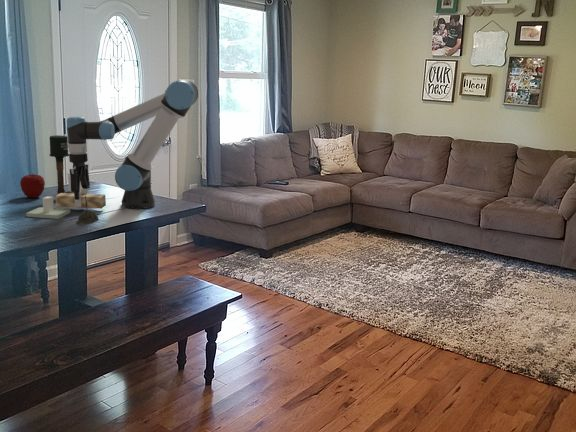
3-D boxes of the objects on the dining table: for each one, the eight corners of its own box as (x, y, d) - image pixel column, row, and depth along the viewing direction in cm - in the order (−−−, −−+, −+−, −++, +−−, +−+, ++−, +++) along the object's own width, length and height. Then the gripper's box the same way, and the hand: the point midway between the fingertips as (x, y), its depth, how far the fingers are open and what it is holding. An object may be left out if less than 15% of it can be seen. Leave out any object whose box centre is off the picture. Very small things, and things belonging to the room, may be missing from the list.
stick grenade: (64, 202, 277) (61, 137, 270) (48, 200, 279) (44, 136, 271) (74, 198, 285) (72, 136, 278) (58, 197, 287) (55, 134, 279)
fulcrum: (70, 212, 259) (69, 195, 257) (58, 218, 248) (57, 201, 246) (39, 210, 260) (38, 193, 258) (26, 216, 249) (25, 199, 248)
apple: (21, 195, 286) (19, 171, 283) (45, 194, 290) (43, 171, 287) (21, 200, 276) (19, 175, 273) (45, 199, 280) (44, 175, 277)
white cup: (64, 191, 298) (63, 172, 296) (75, 189, 305) (75, 170, 303) (77, 193, 295) (76, 174, 293) (88, 191, 302) (87, 171, 300)
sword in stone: (82, 217, 252) (82, 190, 249) (100, 219, 252) (101, 192, 249) (73, 223, 243) (73, 195, 240) (92, 225, 242) (93, 197, 240)
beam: (105, 205, 266) (105, 194, 265) (101, 208, 260) (100, 197, 259) (61, 203, 267) (60, 192, 265) (56, 206, 261) (55, 195, 260)
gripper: (79, 149, 267) (83, 199, 273) (59, 155, 249) (63, 209, 254) (95, 150, 267) (98, 200, 272) (76, 156, 248) (80, 210, 254)
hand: (81, 204), depth 263 cm, fingers closed on beam, 6 cm apart
